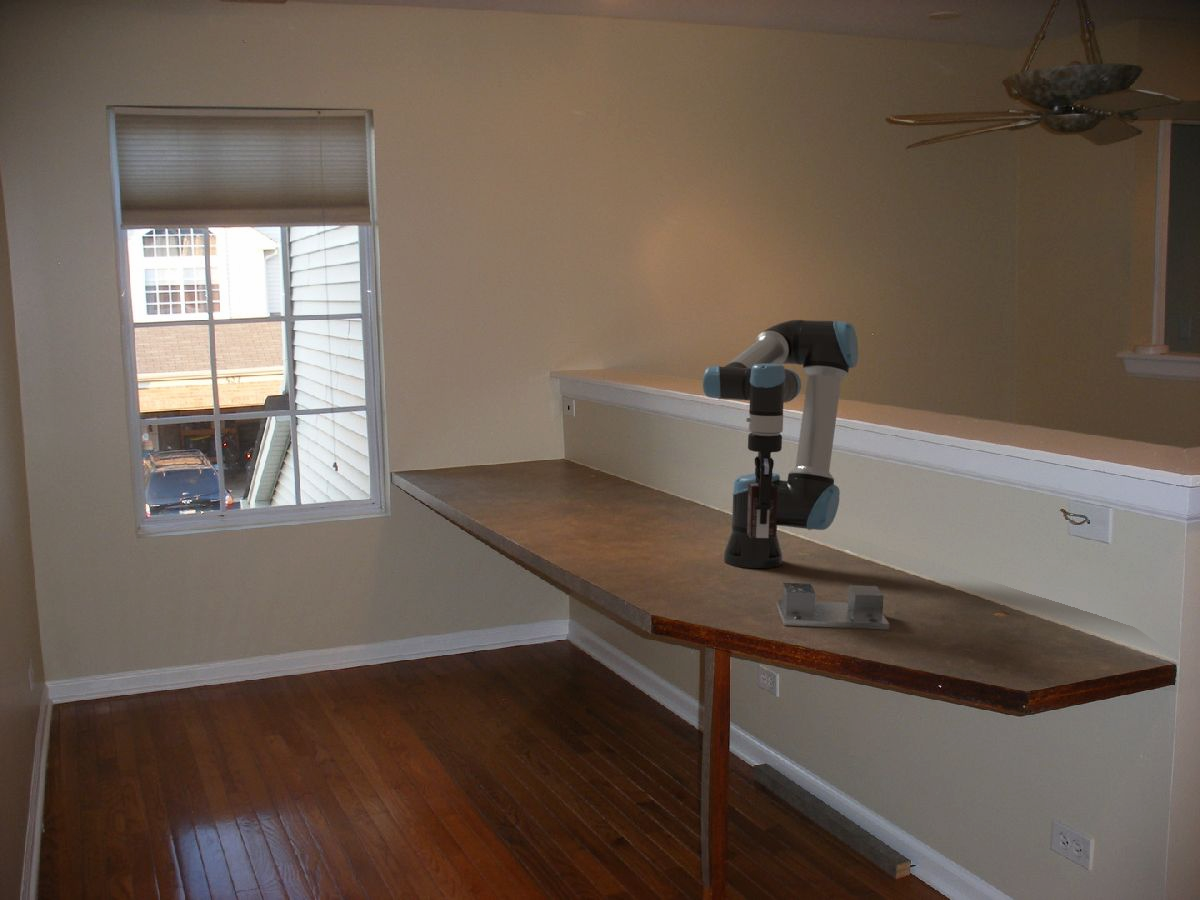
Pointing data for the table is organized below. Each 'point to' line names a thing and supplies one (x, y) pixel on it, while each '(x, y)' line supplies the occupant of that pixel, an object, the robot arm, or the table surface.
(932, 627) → the table surface
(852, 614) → the wall mount bracket
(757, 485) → the box
